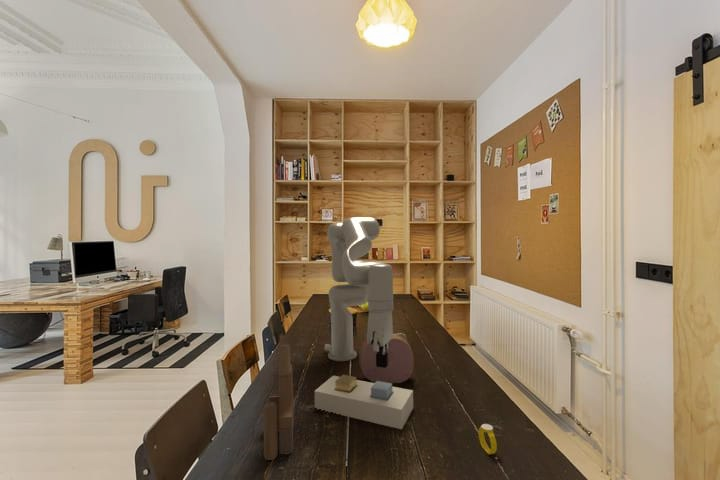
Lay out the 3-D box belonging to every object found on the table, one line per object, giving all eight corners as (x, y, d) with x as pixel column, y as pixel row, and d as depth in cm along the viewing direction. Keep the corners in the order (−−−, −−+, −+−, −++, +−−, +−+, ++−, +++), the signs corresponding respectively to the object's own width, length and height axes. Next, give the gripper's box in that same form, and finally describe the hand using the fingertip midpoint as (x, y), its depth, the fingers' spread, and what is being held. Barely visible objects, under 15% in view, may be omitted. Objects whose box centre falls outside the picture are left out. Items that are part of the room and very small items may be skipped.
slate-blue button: (371, 397, 97) (370, 387, 97) (377, 389, 102) (376, 380, 102) (386, 400, 95) (386, 391, 95) (392, 392, 100) (392, 383, 100)
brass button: (335, 389, 102) (335, 381, 102) (342, 383, 107) (342, 374, 107) (349, 392, 100) (349, 383, 100) (356, 385, 105) (356, 377, 105)
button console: (314, 408, 102) (314, 391, 101) (333, 391, 112) (333, 375, 112) (401, 429, 90) (401, 409, 90) (413, 408, 101) (412, 390, 101)
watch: (476, 445, 84) (475, 421, 84) (486, 443, 84) (485, 419, 84) (489, 459, 78) (488, 433, 78) (500, 457, 78) (498, 431, 78)
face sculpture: (411, 375, 124) (411, 331, 124) (415, 383, 117) (415, 337, 117) (359, 377, 124) (358, 333, 123) (359, 385, 117) (359, 339, 116)
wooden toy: (269, 425, 93) (268, 337, 93) (293, 422, 94) (292, 336, 94) (263, 462, 78) (261, 358, 77) (292, 458, 79) (290, 355, 79)
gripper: (378, 300, 106) (379, 356, 106) (359, 309, 93) (360, 373, 93) (400, 301, 103) (401, 359, 103) (384, 311, 90) (385, 378, 90)
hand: (382, 366), depth 98 cm, fingers closed
